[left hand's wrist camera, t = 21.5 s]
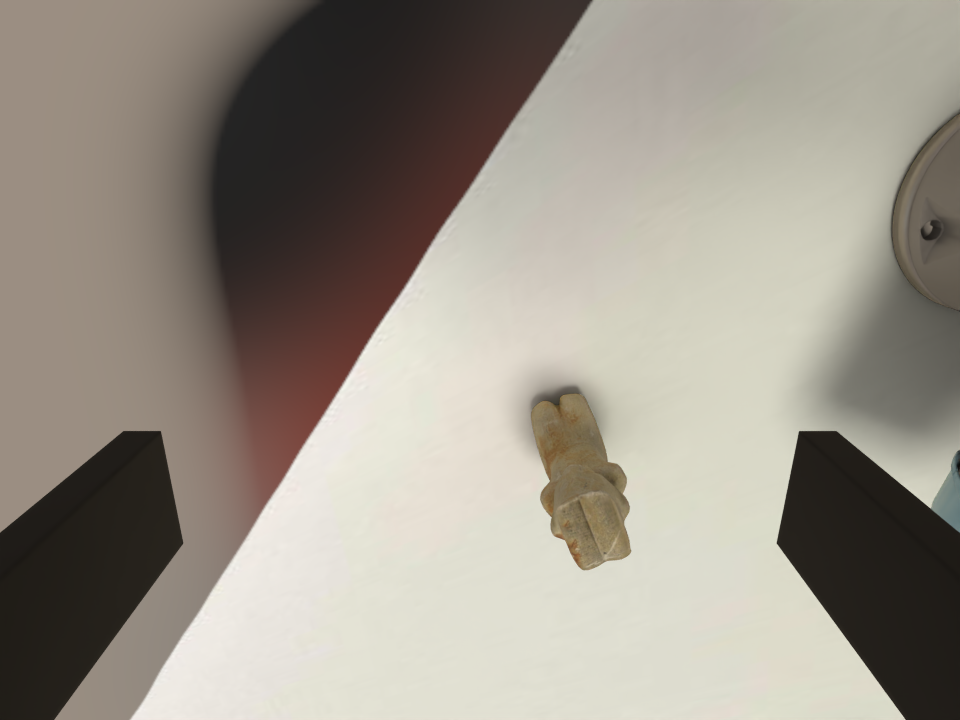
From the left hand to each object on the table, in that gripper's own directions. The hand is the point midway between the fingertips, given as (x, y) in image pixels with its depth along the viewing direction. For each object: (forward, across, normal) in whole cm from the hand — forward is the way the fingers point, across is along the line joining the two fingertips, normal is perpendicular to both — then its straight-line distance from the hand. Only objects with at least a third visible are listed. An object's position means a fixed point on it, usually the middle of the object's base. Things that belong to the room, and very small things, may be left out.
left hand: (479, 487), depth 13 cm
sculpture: (+33, +7, -15) cm, 37 cm away
